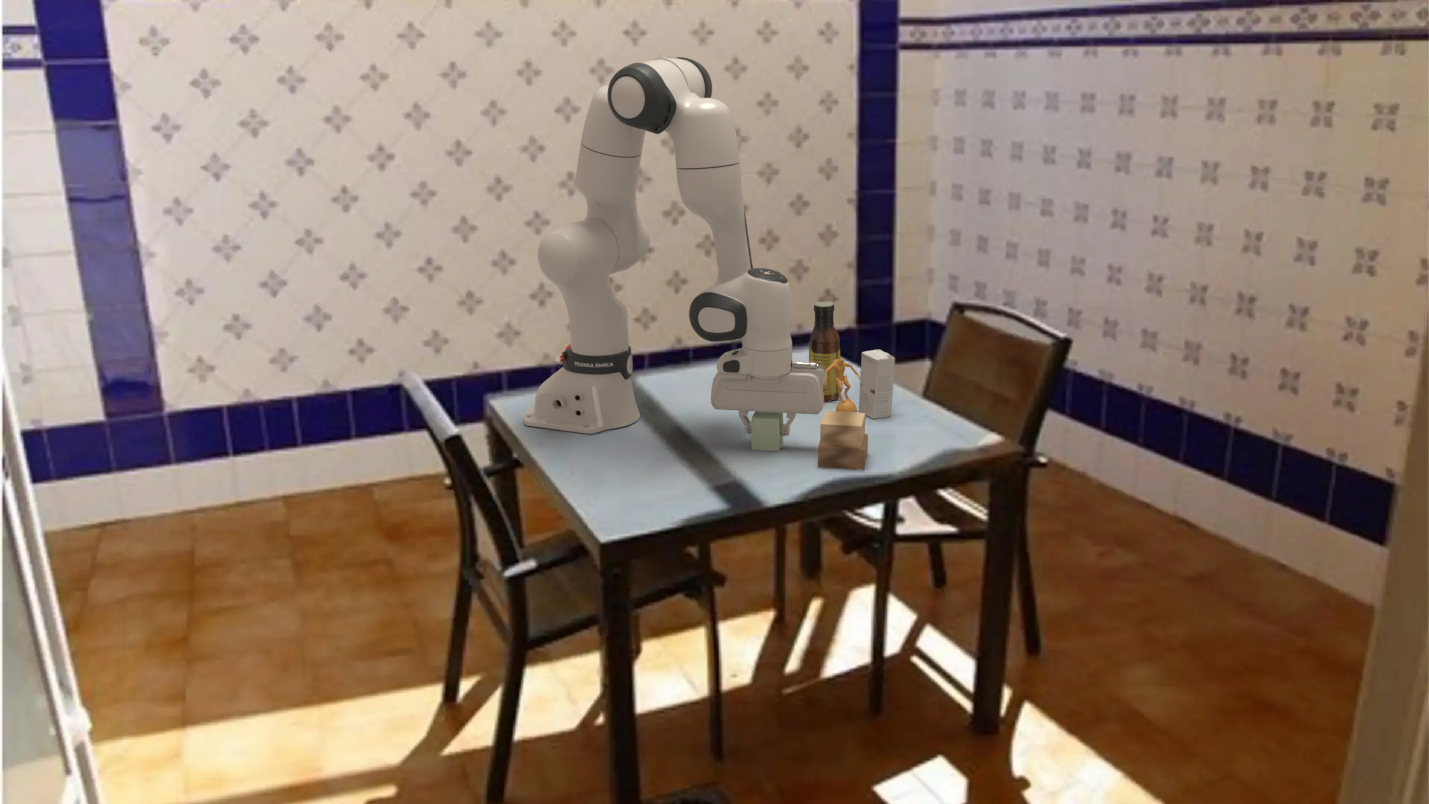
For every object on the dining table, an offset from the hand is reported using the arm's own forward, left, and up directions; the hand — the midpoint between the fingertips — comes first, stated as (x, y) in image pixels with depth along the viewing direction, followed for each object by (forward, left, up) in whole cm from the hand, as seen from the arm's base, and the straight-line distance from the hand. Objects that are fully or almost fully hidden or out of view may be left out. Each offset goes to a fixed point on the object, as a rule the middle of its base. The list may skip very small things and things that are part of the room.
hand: (767, 433), depth 215 cm
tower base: (+14, -5, -3) cm, 15 cm away
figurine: (+12, +17, -2) cm, 21 cm away
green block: (0, 0, -2) cm, 2 cm away
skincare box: (+18, +21, -2) cm, 28 cm away
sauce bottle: (+7, +29, -2) cm, 30 cm away
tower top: (+14, -5, +1) cm, 15 cm away
